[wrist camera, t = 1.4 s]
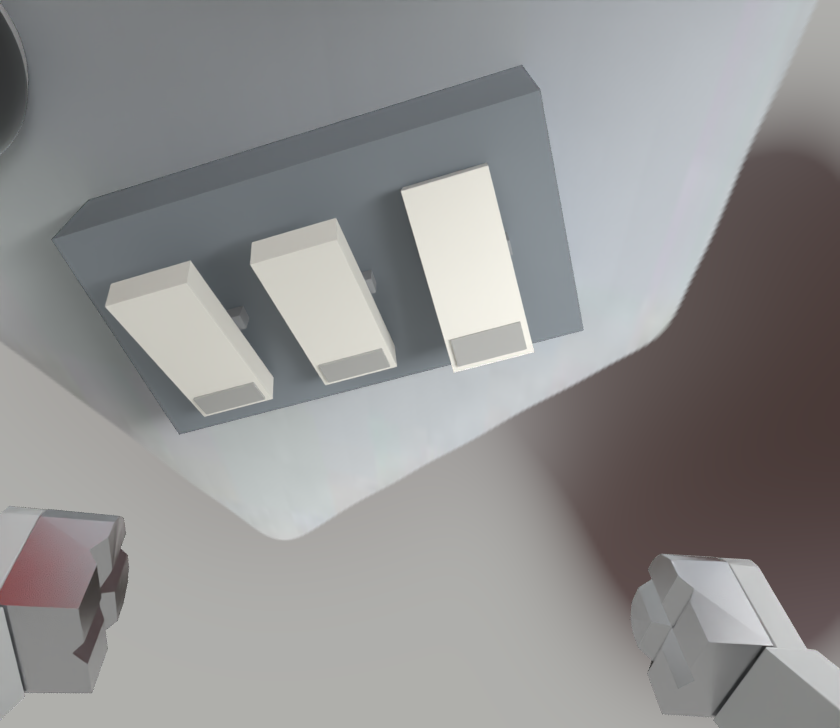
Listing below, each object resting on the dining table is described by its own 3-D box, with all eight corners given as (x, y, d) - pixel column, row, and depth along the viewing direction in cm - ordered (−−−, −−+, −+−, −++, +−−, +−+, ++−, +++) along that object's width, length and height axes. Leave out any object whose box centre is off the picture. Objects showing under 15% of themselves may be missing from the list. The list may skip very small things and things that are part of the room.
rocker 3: (486, 162, 32) (488, 165, 30) (530, 342, 35) (534, 353, 33) (402, 187, 32) (400, 191, 31) (453, 361, 35) (453, 373, 34)
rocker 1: (190, 260, 31) (186, 285, 30) (273, 377, 38) (272, 401, 37) (111, 283, 32) (104, 309, 31) (206, 395, 39) (204, 418, 38)
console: (522, 64, 34) (544, 95, 29) (565, 289, 42) (588, 344, 37) (88, 200, 37) (42, 248, 32) (200, 386, 45) (176, 448, 40)
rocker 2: (336, 217, 30) (337, 241, 29) (394, 345, 37) (397, 368, 36) (251, 242, 31) (249, 266, 30) (324, 364, 38) (325, 387, 37)
